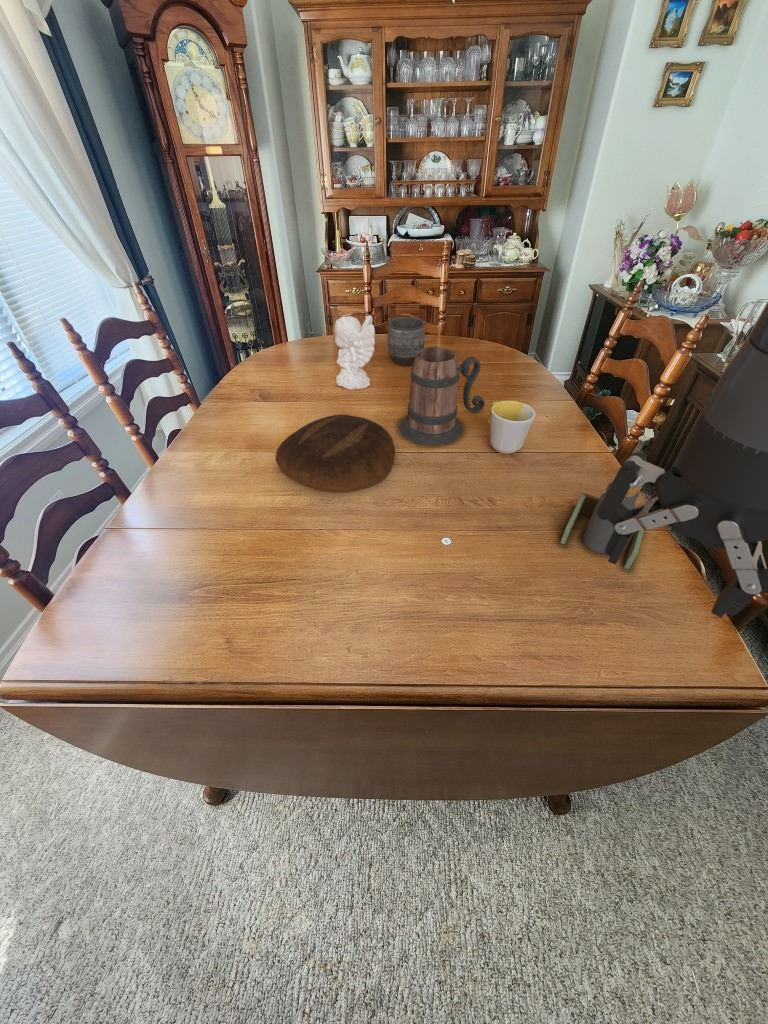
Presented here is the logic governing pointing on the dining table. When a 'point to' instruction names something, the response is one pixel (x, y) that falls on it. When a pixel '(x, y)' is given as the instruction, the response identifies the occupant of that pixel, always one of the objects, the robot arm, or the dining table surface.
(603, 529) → the bottle
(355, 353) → the cherub figurine
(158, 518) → the dining table surface
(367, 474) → the bread
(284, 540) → the dining table surface
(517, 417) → the mug
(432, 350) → the tankard
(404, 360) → the planter
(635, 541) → the green u-shaped frame
